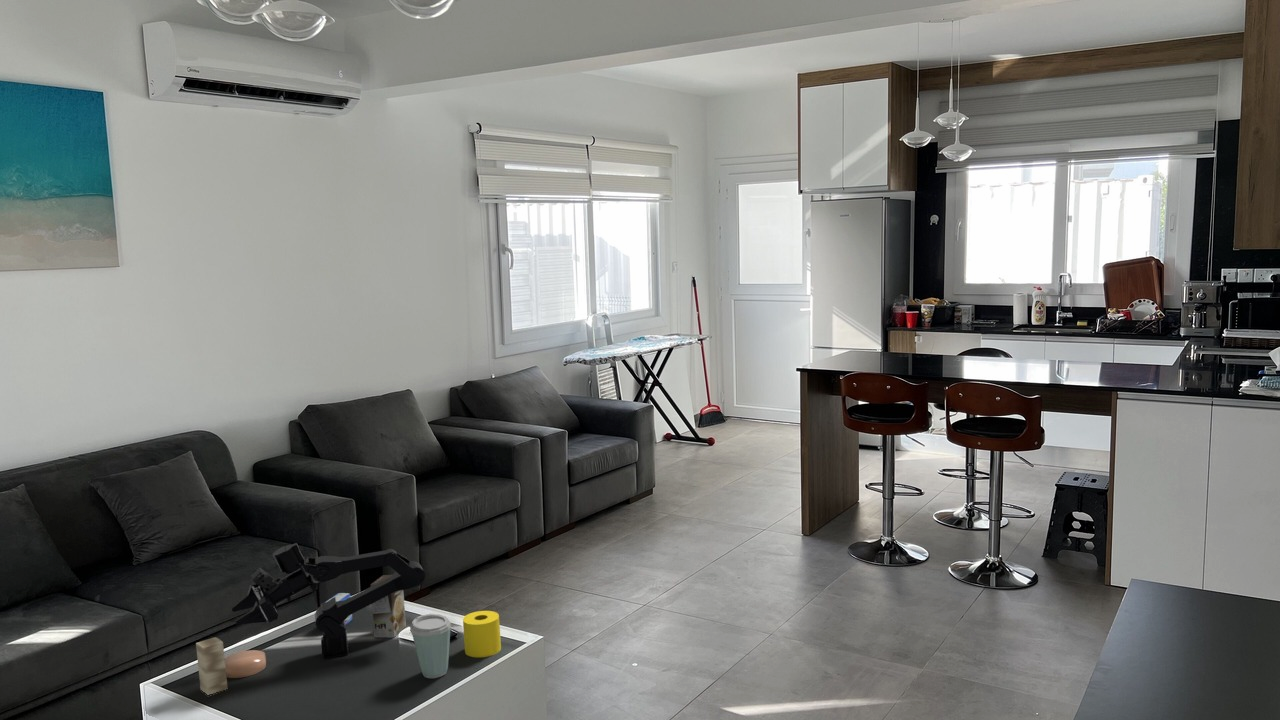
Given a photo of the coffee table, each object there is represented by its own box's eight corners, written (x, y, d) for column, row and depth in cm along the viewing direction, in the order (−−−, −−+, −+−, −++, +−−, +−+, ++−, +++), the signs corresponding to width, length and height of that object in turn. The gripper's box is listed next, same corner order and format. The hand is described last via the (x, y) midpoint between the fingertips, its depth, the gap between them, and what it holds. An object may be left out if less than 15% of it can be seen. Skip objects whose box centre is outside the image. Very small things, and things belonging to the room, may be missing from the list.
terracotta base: (268, 658, 266) (267, 647, 266) (263, 674, 256) (262, 663, 255) (226, 664, 263) (225, 653, 263) (219, 680, 253) (218, 670, 253)
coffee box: (394, 637, 276) (390, 584, 274) (374, 637, 277) (369, 584, 275) (406, 625, 285) (402, 574, 283) (386, 625, 286) (382, 574, 284)
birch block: (220, 683, 251) (215, 636, 250) (227, 689, 247) (222, 641, 246) (200, 690, 247) (195, 643, 246) (208, 696, 244) (203, 648, 242)
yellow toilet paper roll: (478, 640, 272) (476, 609, 271) (507, 645, 268) (505, 613, 267) (457, 654, 263) (455, 621, 262) (487, 659, 259) (485, 626, 258)
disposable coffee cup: (462, 667, 254) (458, 613, 253) (441, 685, 244) (437, 629, 243) (427, 663, 258) (423, 610, 256) (405, 680, 248) (401, 625, 246)
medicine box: (339, 630, 284) (337, 602, 283) (326, 629, 285) (323, 602, 284) (352, 619, 292) (350, 592, 291) (339, 619, 293) (337, 592, 292)
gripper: (271, 551, 267) (216, 580, 261) (281, 573, 250) (223, 605, 244) (288, 583, 270) (235, 613, 264) (300, 607, 254) (243, 639, 248)
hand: (234, 616), depth 255 cm, fingers open, 9 cm apart
